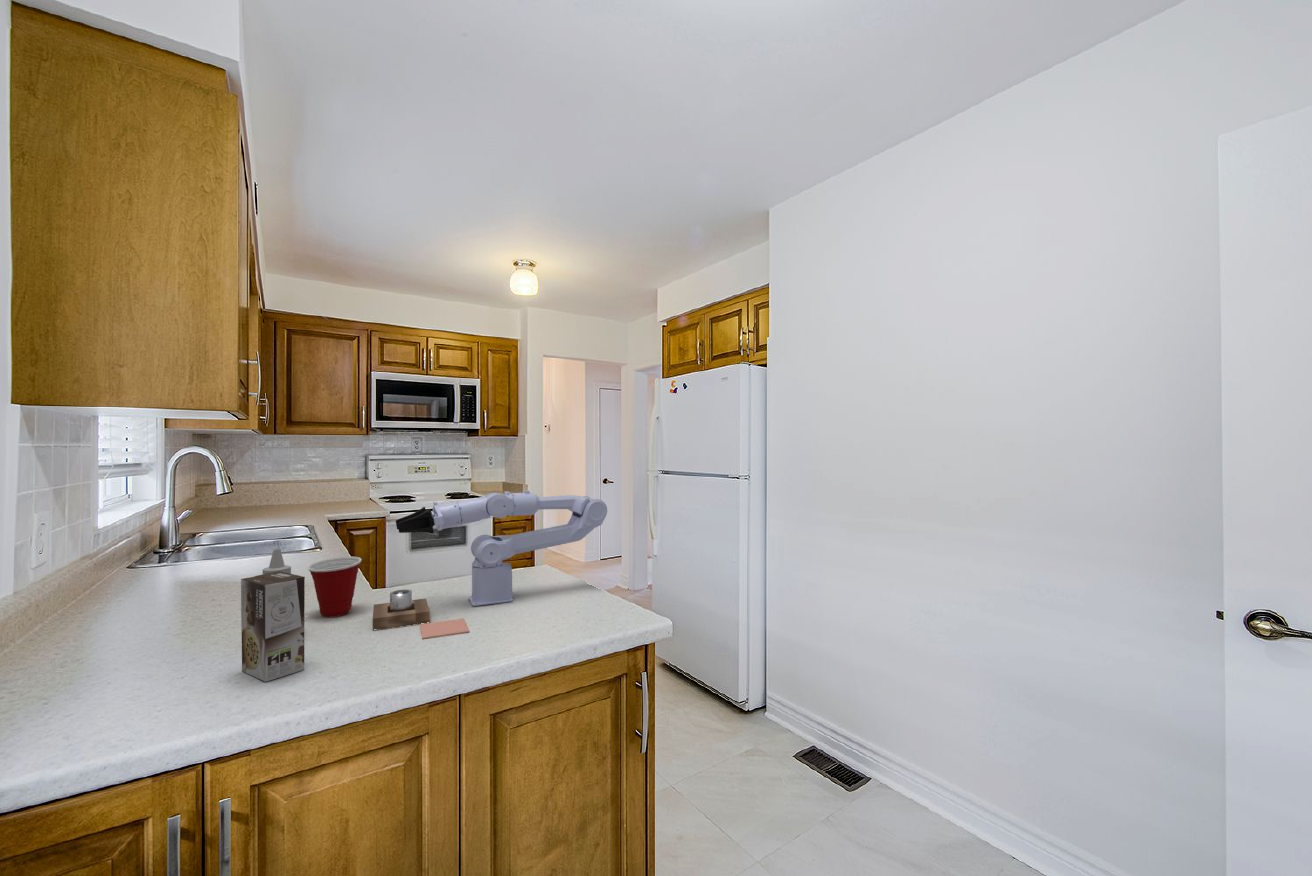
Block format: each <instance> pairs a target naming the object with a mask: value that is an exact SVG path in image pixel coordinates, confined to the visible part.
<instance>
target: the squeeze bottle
mask: <svg viewBox="0 0 1312 876" xmlns="http://www.w3.org/2000/svg"><path fill="white" fill-rule="evenodd" d="M278 571H281V572H285V573H290V574H292V566H290V565H288V564H287V565H286V564H285V561H284V557H283V553H282V549H281V548H275V549H273V550H272V554H271V559H270V561H269V565H268V567H265V568H263V569H262V574H267V573H272V572H278Z"/></svg>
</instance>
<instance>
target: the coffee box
mask: <svg viewBox="0 0 1312 876" xmlns="http://www.w3.org/2000/svg"><path fill="white" fill-rule="evenodd" d="M305 578H306V577H305V576H301V575H298V574H293V573H291V574H290V573H285V572H281V571H278V572H272V573H267V574H263V573H262V574H259V575H255V576H251V577H246V578H245V577H244V578H241V579H240V584H241V585H240V609H241V610H240V612H241V614H240V618H241V620H240V621H241V622H240V623H241V625H240V626H241V628H240V629H241V672H243V673H245V674H248V675H250V676H252V677H254V678H256V679H258V680H261V681H262V682H265V683H266V682H270V681H274V680H276V679H279V678H282V677H285V676H289V675H292V674H294V673H295V674H296V673H298V672H302V671H303V670H305V597H306V596H305V593H306V592H305V588H306V587H305V583H306V582H305Z"/></svg>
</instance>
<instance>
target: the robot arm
mask: <svg viewBox="0 0 1312 876" xmlns="http://www.w3.org/2000/svg"><path fill="white" fill-rule="evenodd" d="M432 503H433V505H432V510H431V509H430V508H427V509H426V506H423V507H421V508H420V509H419V510H417V511H415V512H413V513H411V514H409V515H405V516H403V517H400V518H398V519H395V526H396V529H397V530H398V533H400V534H402V533H403V534H404V533H406V534H408V533H427V534H432V535H434V526H435V527H436V529H437V531H443V530H444V529H449V528H453V527H457V526H461V525H462V526H463V525H466V524H471V523H475V522H480V521H482V520H485V519H490V518H492V517H493V518H498V519H504V518H506V517H507V516H509V517H514V516H515V517H516V516H534V515H535V514H536V513H537V512H538V511H539V510H568V511H570V512H571V516H570V518H569V520H568V522H567V523H566V524H561V525H556V526H551V527H547V528H542V529H536V530H531V531H525V532H520V533H516V534H510V535H508V534H507V535H505V534H504V535H495V536H493V535H489V534H482V535H481V534H480V535H478V536H476V537H475V538H474V539H473V541H472V542H471V544H470V545H471V546H470V551H471V554H472V556H473V557H474V559H473V561H472V563H471V595H469V596H468V600H469V602H470V604H471V605H472V606H473V607H480V606H485V605H494V604H503V603H509V602H510V603H511V602H513V601H514V599H513V570H512V565H511V563H510V562H503V561H504V560H507V559H510V558H512V557H513V556H514V555H519V554H523V553H528V552H532V551H537V550H543V549H547V548H551V547H556V546H557V547H558V546H561V545H566V544H570V543H575V542H579V541H581V540H583V539H584V538H585V537H586V536H587V535H589V534H590V533H591V532H592V531H593V530H594V529H596V528H598V527H600V526H602V524H604V523H603V522H604V520H605V518H606V517H607V514H608V506H607V504H606V503H605V501H603V500H602V499H600V498H592V497H589V496H586V495H585V496H581V495H574V494H570V495H569V494H567V495H555V496H541V497H540V496H537V494H535V493H534V492H530V490H527V489H526V490H524V489H523V491H522V492H513V493H511V492H510V491H504V494H503V493H499V492H498V493H497V492H489V493H487V494H486V495H485V496H480V497H474V498H468V499H463V500H457V501H453V502H449V503H444V504H438V501H437V500H434V501H433V502H432Z"/></svg>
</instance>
